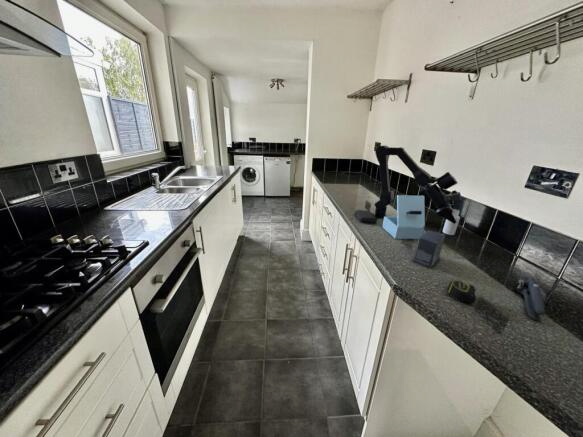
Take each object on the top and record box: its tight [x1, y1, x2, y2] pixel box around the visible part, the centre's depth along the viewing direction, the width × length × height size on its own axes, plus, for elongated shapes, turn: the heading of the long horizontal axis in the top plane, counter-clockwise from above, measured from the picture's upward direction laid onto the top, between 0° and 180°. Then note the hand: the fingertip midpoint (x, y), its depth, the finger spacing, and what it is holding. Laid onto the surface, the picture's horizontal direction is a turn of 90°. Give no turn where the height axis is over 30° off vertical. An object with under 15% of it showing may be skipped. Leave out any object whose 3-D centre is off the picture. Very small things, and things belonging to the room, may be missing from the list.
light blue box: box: [382, 216, 425, 240], centre depth 112 cm, size 14×13×6 cm
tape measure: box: [447, 280, 477, 305], centre depth 70 cm, size 7×7×4 cm
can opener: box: [515, 276, 547, 322], centre depth 67 cm, size 18×7×6 cm, turn 140°
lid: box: [396, 194, 426, 228], centre depth 103 cm, size 14×13×4 cm
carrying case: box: [353, 209, 378, 224], centre depth 128 cm, size 11×3×15 cm
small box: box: [413, 229, 447, 269], centre depth 88 cm, size 11×6×10 cm, turn 135°
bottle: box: [442, 208, 461, 236], centre depth 113 cm, size 5×5×12 cm
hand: (455, 221), depth 112 cm, fingers closed on bottle, 5 cm apart
